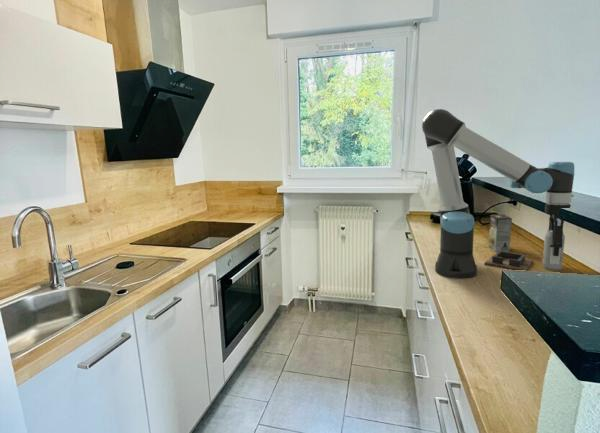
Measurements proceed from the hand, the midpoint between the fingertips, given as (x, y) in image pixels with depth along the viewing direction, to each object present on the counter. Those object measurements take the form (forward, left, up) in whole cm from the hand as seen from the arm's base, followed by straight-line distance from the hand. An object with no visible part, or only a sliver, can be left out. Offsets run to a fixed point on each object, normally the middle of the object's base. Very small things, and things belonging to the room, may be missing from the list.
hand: (552, 259), depth 123 cm
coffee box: (+5, +27, -4) cm, 28 cm away
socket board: (-9, +11, -4) cm, 15 cm away
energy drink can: (0, 0, -4) cm, 4 cm away
